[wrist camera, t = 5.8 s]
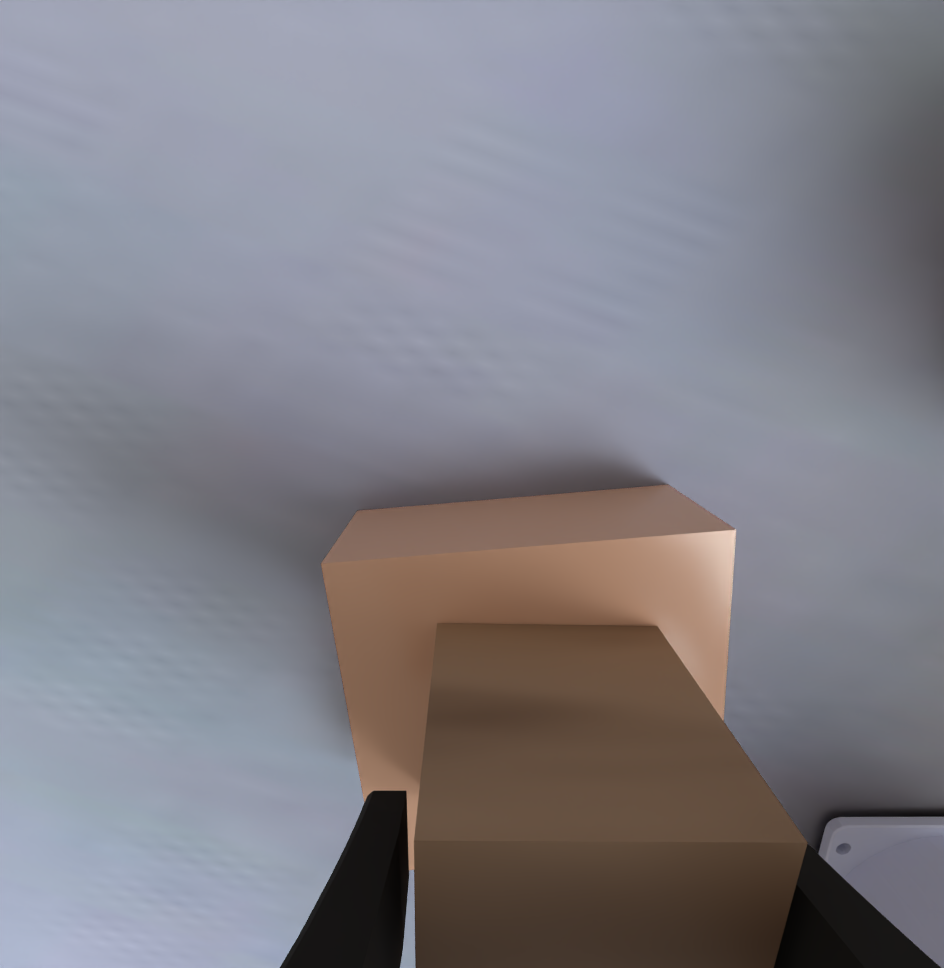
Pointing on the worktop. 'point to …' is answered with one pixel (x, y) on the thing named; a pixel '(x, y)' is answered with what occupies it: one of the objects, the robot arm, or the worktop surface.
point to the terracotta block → (514, 597)
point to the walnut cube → (590, 810)
